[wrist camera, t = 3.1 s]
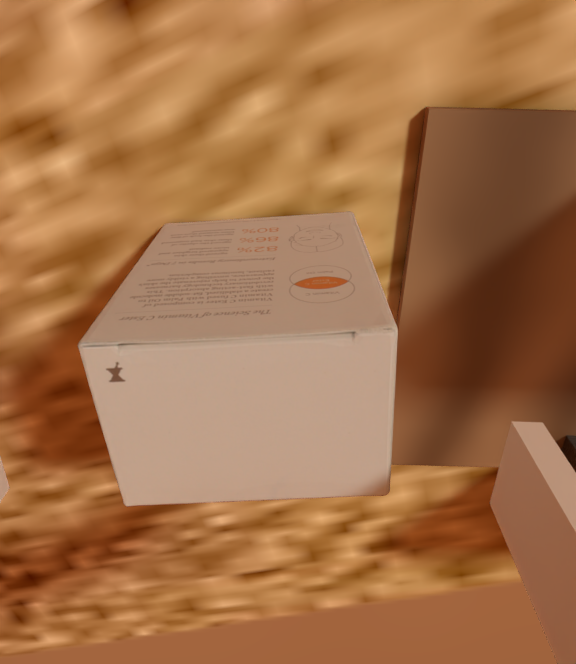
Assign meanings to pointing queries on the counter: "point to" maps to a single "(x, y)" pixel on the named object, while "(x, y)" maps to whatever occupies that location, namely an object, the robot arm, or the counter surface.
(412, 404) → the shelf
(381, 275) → the counter surface
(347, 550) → the counter surface
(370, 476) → the small box
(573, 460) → the bookend
